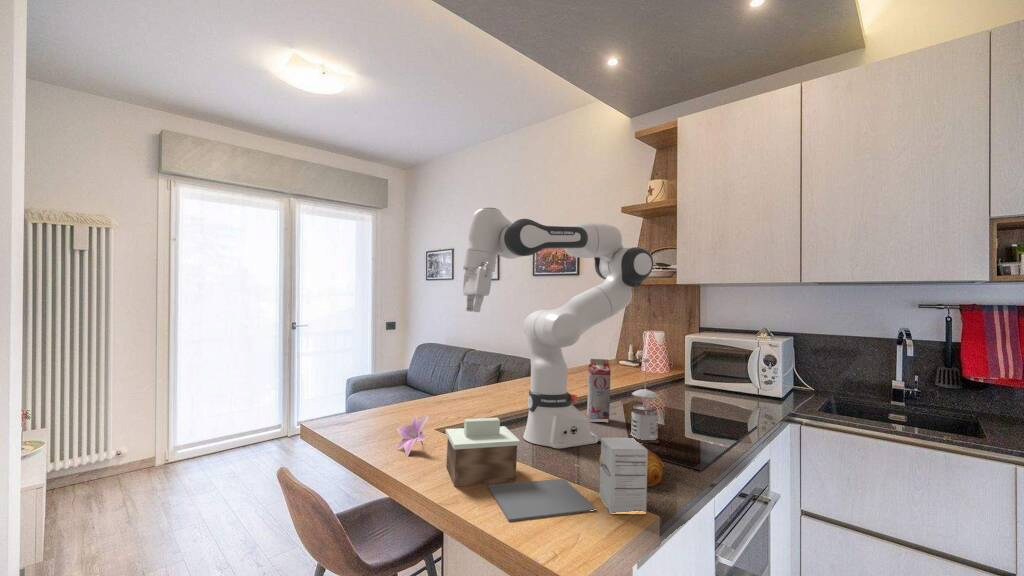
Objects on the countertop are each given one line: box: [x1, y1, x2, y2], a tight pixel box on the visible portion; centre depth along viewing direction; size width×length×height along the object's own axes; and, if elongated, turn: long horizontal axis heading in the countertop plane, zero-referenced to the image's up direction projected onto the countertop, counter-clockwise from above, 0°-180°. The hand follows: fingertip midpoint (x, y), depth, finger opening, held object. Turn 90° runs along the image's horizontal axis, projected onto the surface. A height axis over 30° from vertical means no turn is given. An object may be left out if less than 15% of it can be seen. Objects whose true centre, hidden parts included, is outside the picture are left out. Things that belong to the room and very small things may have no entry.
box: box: [445, 438, 518, 487], centre depth 97 cm, size 14×11×8 cm
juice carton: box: [586, 358, 612, 420], centre depth 151 cm, size 7×7×22 cm
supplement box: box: [599, 437, 649, 513], centre depth 84 cm, size 7×7×13 cm
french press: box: [630, 358, 660, 440], centre depth 131 cm, size 10×12×25 cm
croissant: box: [598, 449, 665, 488], centre depth 101 cm, size 14×16×8 cm
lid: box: [445, 417, 521, 450], centre depth 98 cm, size 15×12×6 cm
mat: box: [487, 477, 598, 522], centre depth 86 cm, size 18×15×1 cm
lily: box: [396, 414, 429, 457], centre depth 112 cm, size 11×11×9 cm
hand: (472, 311), depth 117 cm, fingers open, 8 cm apart
